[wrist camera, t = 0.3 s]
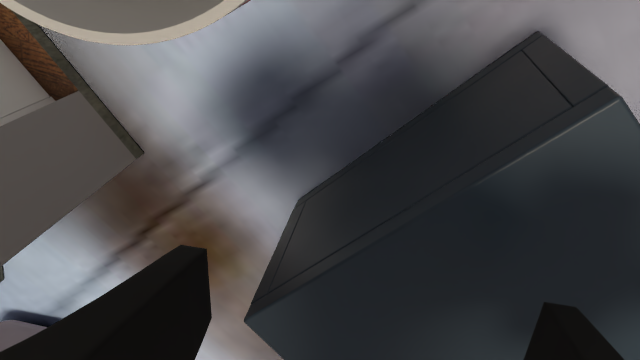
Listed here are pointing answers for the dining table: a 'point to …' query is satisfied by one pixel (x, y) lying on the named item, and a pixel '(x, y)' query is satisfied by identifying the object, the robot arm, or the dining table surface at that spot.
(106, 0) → the cup
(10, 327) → the pinkish grey angular block
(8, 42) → the cabinet
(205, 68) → the dining table surface
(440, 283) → the cabinet
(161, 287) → the robot arm
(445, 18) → the dining table surface
